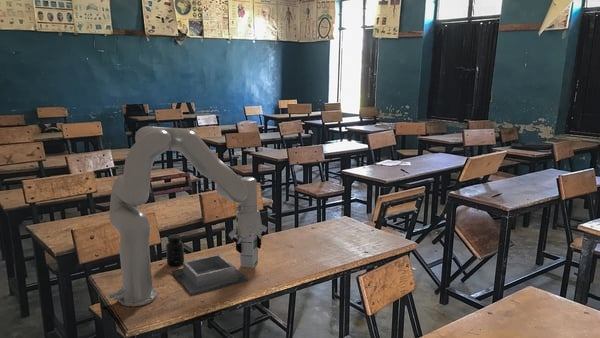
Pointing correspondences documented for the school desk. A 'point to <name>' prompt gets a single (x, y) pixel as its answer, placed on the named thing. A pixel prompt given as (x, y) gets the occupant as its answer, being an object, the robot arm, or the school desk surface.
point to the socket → (208, 274)
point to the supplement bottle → (174, 251)
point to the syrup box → (249, 251)
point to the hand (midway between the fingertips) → (248, 249)
